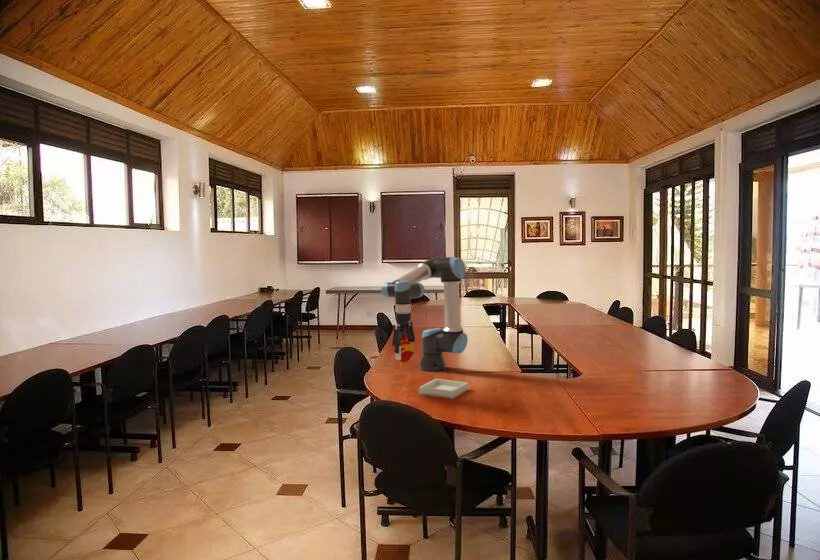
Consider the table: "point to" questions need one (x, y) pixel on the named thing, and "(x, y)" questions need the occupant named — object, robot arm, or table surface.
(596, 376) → the table surface
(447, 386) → the bin
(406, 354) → the potion bottle
